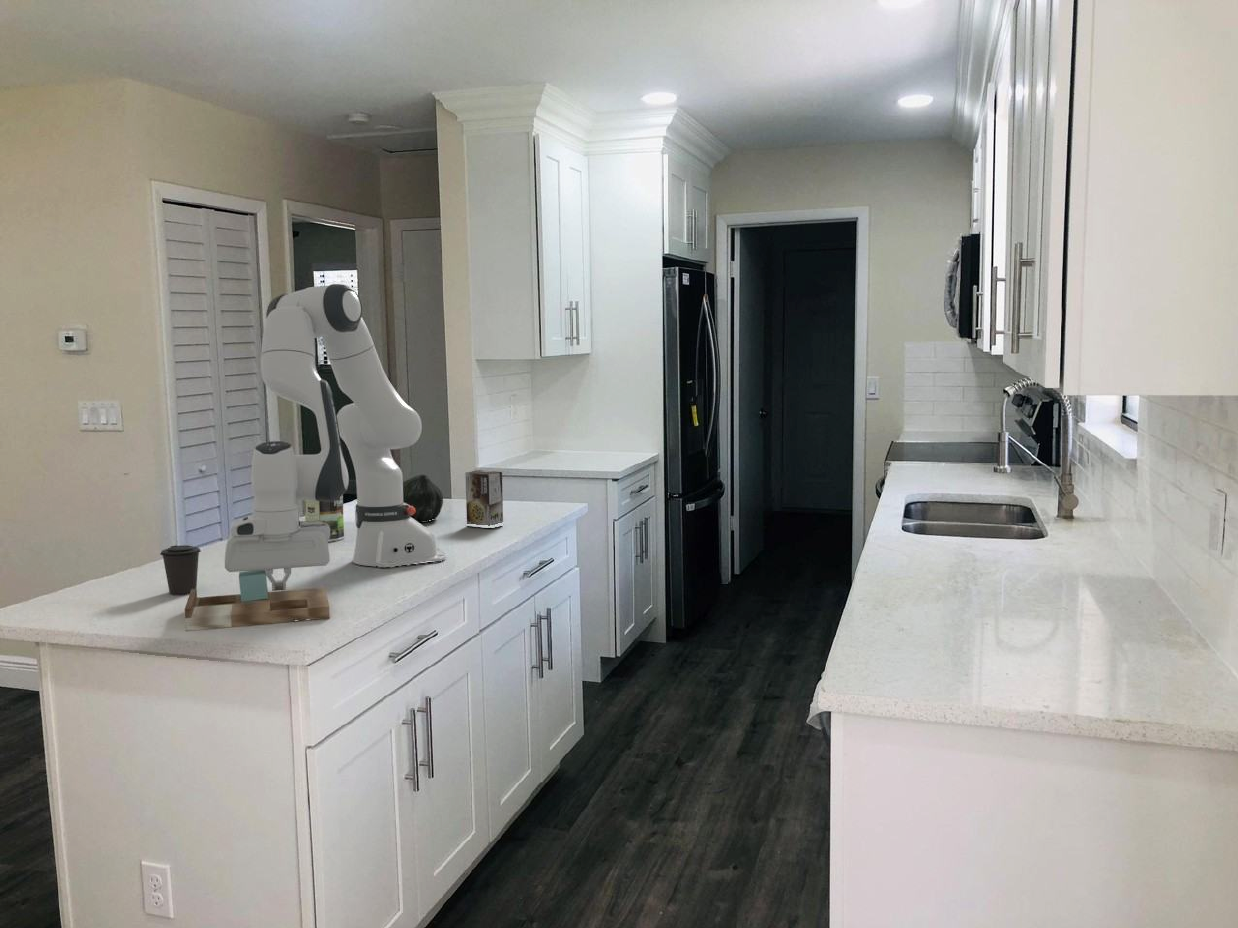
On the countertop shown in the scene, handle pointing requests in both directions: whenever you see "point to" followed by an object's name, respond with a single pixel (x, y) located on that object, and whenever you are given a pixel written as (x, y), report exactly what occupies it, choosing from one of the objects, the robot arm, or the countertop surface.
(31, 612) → the countertop surface
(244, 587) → the teal block
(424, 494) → the squash
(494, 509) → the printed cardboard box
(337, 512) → the coffee can
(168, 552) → the coffee cup
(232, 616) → the board
